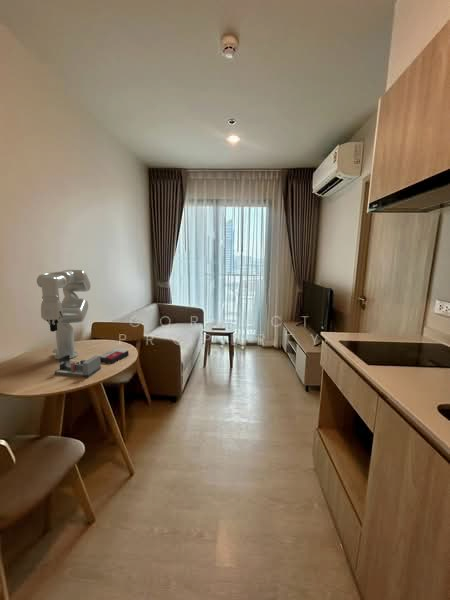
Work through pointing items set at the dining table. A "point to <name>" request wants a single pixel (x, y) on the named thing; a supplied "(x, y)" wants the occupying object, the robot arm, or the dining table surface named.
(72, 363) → the drag pointer
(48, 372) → the dining table surface
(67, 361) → the plunger
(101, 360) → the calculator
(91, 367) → the gauge housing
